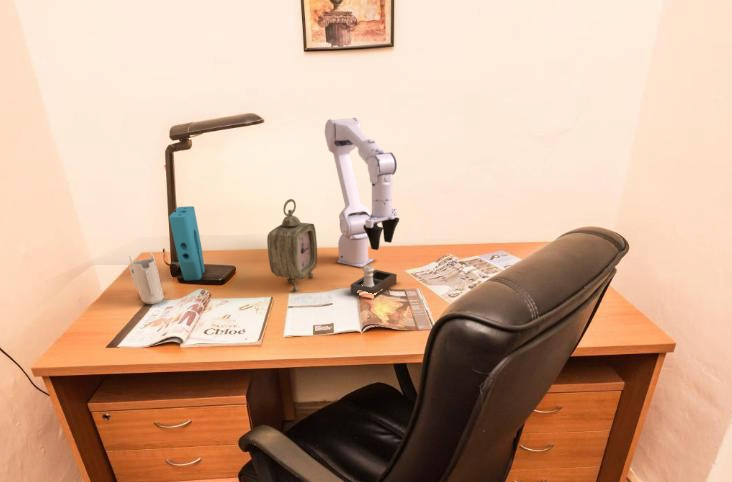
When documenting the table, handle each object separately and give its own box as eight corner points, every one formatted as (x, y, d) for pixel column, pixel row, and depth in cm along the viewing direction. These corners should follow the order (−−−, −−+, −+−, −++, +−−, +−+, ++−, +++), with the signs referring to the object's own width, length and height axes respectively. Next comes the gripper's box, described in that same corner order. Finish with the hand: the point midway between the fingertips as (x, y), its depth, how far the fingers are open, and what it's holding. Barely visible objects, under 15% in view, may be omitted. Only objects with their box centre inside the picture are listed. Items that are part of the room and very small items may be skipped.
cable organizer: (159, 288, 144) (150, 250, 138) (167, 304, 135) (157, 263, 129) (135, 293, 141) (124, 254, 135) (141, 309, 132) (130, 267, 126)
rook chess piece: (363, 296, 138) (362, 269, 134) (358, 290, 141) (358, 264, 137) (378, 294, 139) (378, 268, 135) (373, 288, 142) (373, 262, 138)
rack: (372, 299, 136) (372, 289, 134) (350, 294, 139) (350, 284, 138) (396, 283, 145) (396, 274, 144) (375, 278, 149) (375, 269, 147)
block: (190, 268, 158) (177, 206, 148) (206, 267, 159) (194, 206, 149) (182, 282, 148) (168, 217, 138) (199, 281, 148) (186, 216, 138)
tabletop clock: (298, 295, 139) (290, 207, 127) (270, 291, 142) (260, 204, 129) (318, 276, 151) (313, 194, 138) (292, 273, 153) (285, 192, 141)
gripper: (380, 206, 130) (380, 254, 137) (406, 195, 141) (405, 241, 147) (358, 203, 133) (359, 250, 140) (385, 192, 144) (385, 237, 151)
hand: (381, 245), depth 144 cm, fingers open, 7 cm apart
